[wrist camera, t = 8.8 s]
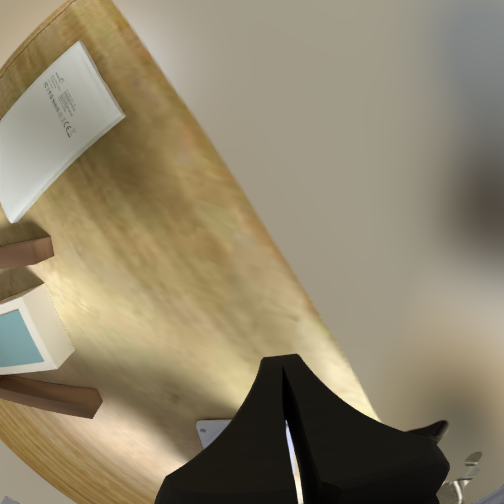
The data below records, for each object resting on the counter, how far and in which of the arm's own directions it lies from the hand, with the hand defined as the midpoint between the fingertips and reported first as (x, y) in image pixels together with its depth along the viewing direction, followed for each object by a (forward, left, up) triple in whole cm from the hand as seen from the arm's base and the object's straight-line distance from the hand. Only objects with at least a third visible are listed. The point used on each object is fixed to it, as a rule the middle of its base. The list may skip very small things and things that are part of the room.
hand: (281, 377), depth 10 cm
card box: (-2, +21, -10) cm, 23 cm away
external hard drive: (+14, +15, -10) cm, 23 cm away
